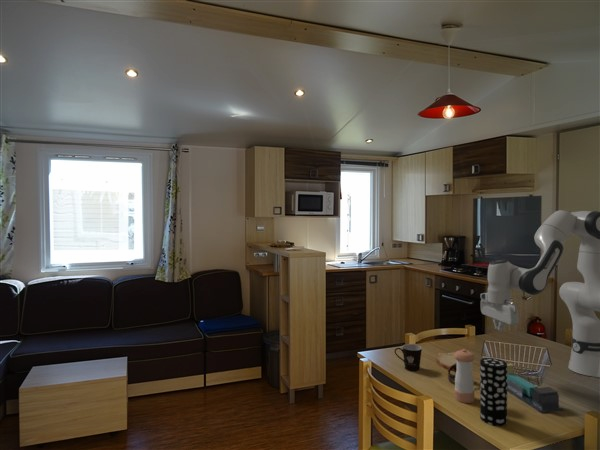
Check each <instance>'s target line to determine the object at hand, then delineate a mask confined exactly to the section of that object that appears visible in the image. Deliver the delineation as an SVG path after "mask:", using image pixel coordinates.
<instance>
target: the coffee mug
mask: <svg viewBox="0 0 600 450" xmlns="http://www.w3.org/2000/svg"><path fill="white" fill-rule="evenodd" d="M422 349H423V348H422V346H421V345H418V344H415V343H414V344H413V343H407V344H403V345H402V347H401V348H400V347H396V348H395V349H394V354H395V356H396V357H397V358H398V359H399V360H401V361H402V362H403V363H404V369H405V370H406V371H410V372H418V371H420V367H421V359H422V351H423V350H422ZM397 350H400V351H401V352H402V355H403V358H402V357H401V356H400V355H398V353H397Z"/></svg>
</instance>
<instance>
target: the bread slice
mask: <svg viewBox="0 0 600 450" xmlns="http://www.w3.org/2000/svg"><path fill="white" fill-rule="evenodd" d="M455 353H456V351H452V352H441V351H438V352H437V353H436V355H435V363H437V364H438V366H440V367H441V368H443V369H444V370H447V371H448V369H449V367H450V366H452V365H454V364H455V363H457V360H456V359H455V357H454V355H455ZM450 372H455V371H454V368H453V369H452V370H451V371H450Z"/></svg>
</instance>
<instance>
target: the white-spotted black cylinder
mask: <svg viewBox="0 0 600 450" xmlns="http://www.w3.org/2000/svg"><path fill="white" fill-rule="evenodd" d="M479 362H480V363H479V364H480V365H479V367H480V369H479V371H480V372H479V373H480V378H479V379H480V381H479V383H480V390H479V391H480V392H479V394H480V395H479V396H480V398H479V400H480V402H479V403H480V405H479V407H480V412H479V414H480V415H479V417H480V420H481V421H482V422H484V423H485V424H487V425H489V426H494V427H495V426H496V427H503V426H506V425H507V424H508V391H507V364H508V363H507V362H506V361H504V360H502V359H499V358H493V357H484V358H481V359H480V360H479Z"/></svg>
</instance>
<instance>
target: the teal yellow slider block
mask: <svg viewBox="0 0 600 450" xmlns="http://www.w3.org/2000/svg"><path fill="white" fill-rule="evenodd" d="M514 372H515V365H514V364H512V363H511V362H510V363H507V383H508V380H512V381H514V382H515V383H517V384H519V385H520V386H522V387H524V394H526V395H527V396H529V397H532V389H533V388H539V386H537V385H535V384H533V383H531V382H530V381H528V380H526V379H525V378H523V377H521V376H519V375H517V374H515V373H514ZM524 379H525V380H524Z"/></svg>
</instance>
